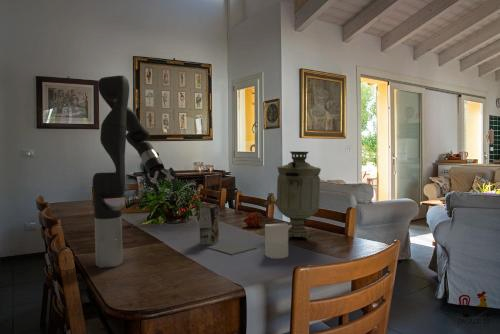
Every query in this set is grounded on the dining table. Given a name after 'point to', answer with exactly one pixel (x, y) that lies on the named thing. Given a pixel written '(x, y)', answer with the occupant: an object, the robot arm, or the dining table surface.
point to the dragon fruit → (254, 219)
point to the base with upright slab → (276, 240)
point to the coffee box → (209, 224)
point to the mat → (231, 247)
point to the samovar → (297, 193)
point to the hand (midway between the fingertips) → (167, 189)
